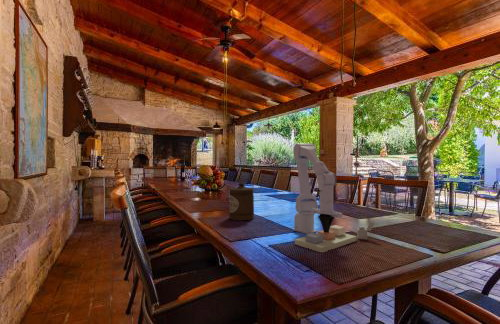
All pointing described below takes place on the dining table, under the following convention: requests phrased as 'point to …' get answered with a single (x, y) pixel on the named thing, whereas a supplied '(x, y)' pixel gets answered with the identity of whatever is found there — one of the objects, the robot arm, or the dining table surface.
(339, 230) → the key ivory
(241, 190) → the wooden container
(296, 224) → the robot arm
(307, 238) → the key slate
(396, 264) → the dining table surface
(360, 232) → the lighter
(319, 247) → the panel
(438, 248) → the dining table surface
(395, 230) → the dining table surface
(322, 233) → the key terracotta
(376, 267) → the dining table surface
